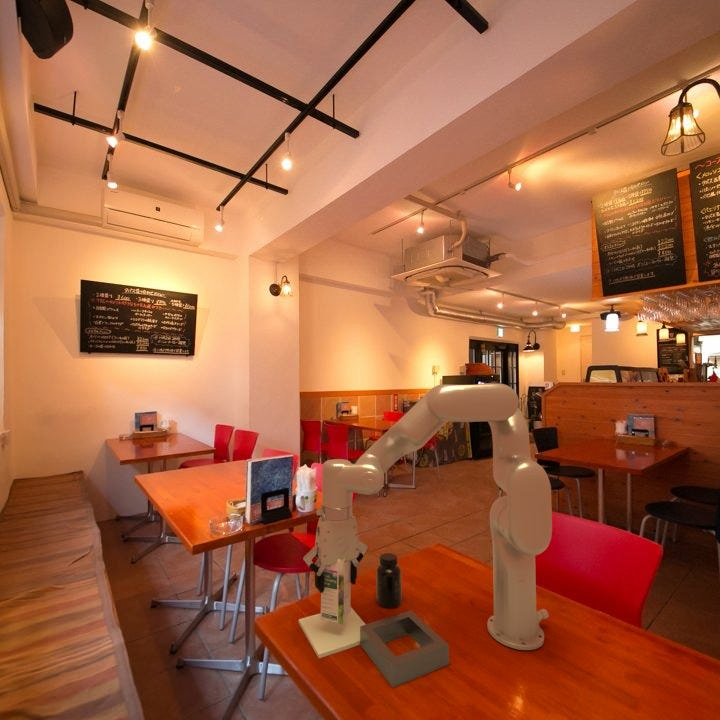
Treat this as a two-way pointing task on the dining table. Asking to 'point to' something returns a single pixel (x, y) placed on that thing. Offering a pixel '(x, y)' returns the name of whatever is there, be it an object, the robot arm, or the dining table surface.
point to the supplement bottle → (388, 581)
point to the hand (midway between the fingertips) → (336, 585)
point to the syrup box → (336, 591)
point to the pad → (332, 633)
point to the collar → (409, 663)
